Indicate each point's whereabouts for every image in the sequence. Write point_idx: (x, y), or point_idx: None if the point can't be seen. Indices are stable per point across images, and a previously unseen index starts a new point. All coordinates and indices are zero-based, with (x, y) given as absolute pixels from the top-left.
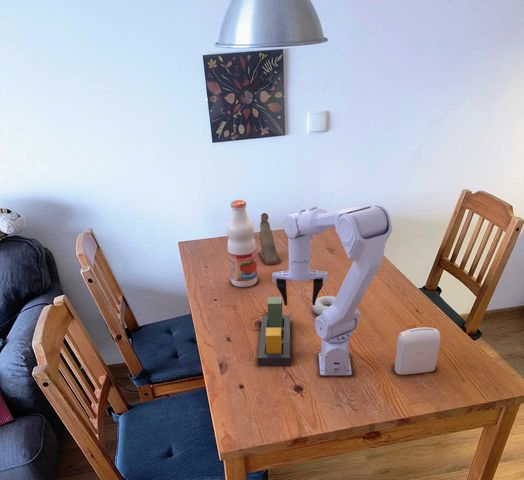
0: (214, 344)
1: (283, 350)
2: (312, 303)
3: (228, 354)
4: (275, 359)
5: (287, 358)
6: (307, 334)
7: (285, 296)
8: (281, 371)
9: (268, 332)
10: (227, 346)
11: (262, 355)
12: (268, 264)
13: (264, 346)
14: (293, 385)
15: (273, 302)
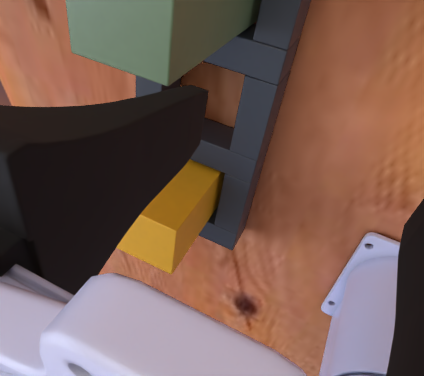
0: (3, 21)
1: (218, 210)
2: (413, 216)
3: (61, 101)
4: None
5: (226, 245)
6: (396, 68)
7: (141, 205)
8: None
9: (125, 236)
10: (47, 50)
11: None
12: None
13: None
14: (236, 292)
15: (108, 48)
